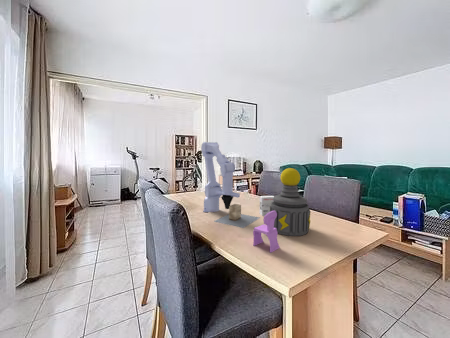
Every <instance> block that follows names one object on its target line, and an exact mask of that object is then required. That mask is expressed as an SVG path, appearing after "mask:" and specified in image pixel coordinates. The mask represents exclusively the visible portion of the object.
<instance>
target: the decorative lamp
mask: <svg viewBox="0 0 450 338" xmlns="http://www.w3.org/2000/svg"><path fill="white" fill-rule="evenodd" d="M300 180H301V175H300V172H299V171H298V170H297V169H296V168H291V167H288V168H285V169H284V170H282V172H281V174H280V181H281V183H282V188H281V192H280V194H276V195H273V196H274V197H273V201H274V202H272V203H271V206H270V212H271V211H276V213H277V217H276V218H275V221H274V228H277V235H278V234H279V235H282V236H287V237H301V236H305V235H307V233H308V232H309V231H310V226H311V210H310V208H309V207H310V205H308V200H307V198H306V197H304V196H302V195H300V193H299V189H298V185H299V183H300Z"/></svg>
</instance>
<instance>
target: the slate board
mask: <svg viewBox="0 0 450 338" xmlns="http://www.w3.org/2000/svg"><path fill="white" fill-rule="evenodd" d="M259 219H261V216H260V217H259V216H253V215H249V214H248V215H247V214H243V213H241V218H240V219H238V220H236V221H233V220H229V213H228V214H226V215H224V216H222V217H220V218H218V219H215V220H213V223H218V224H223V225H228V226H232V227H236V228H242V229H245V228H246V227H248V226H249V225H251V224H253V223H254V222H256V221H257V220H259Z"/></svg>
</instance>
